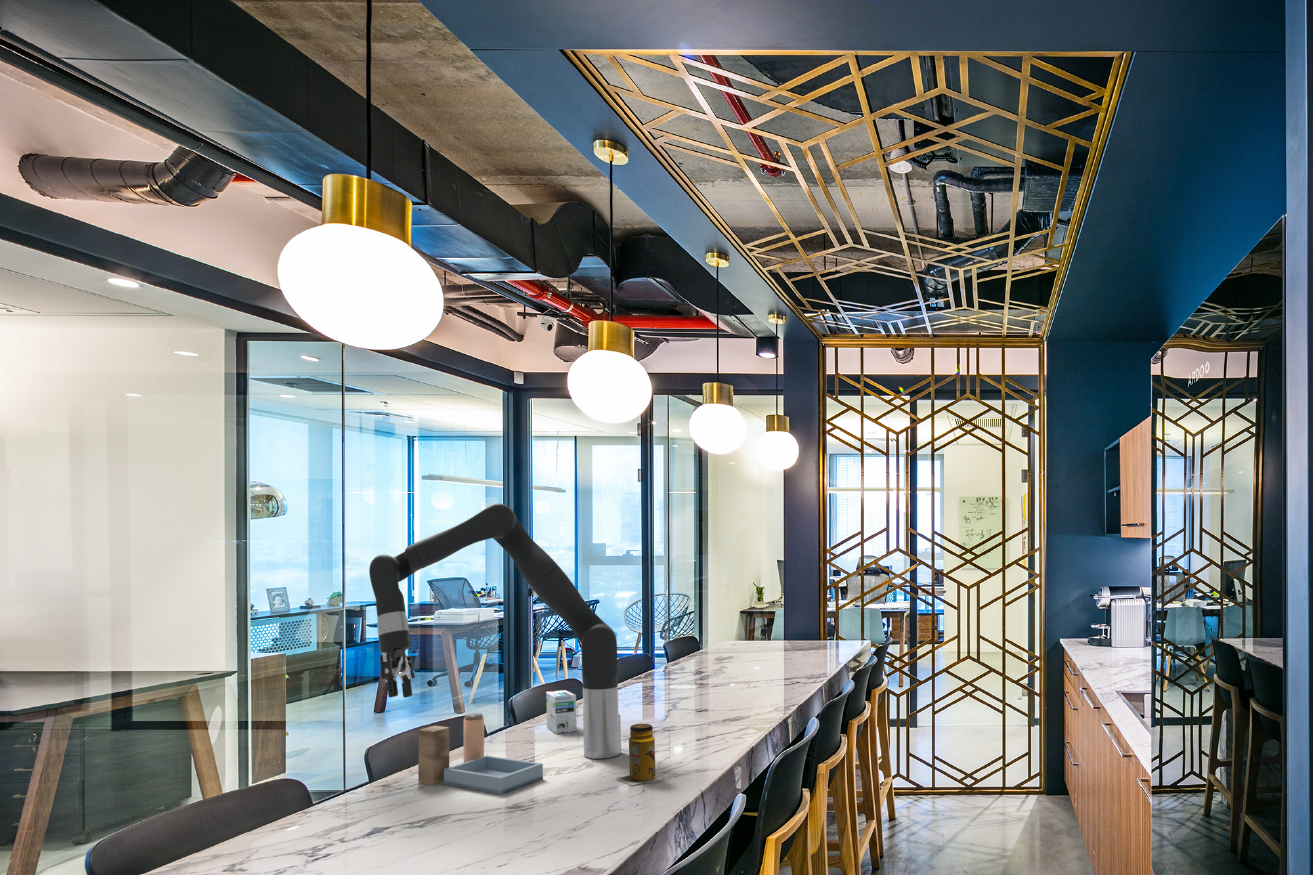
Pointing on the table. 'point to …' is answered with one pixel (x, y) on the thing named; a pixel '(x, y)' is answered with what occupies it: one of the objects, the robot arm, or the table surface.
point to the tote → (493, 774)
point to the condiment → (641, 755)
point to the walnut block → (433, 754)
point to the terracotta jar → (473, 736)
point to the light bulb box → (561, 711)
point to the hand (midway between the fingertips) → (400, 696)
